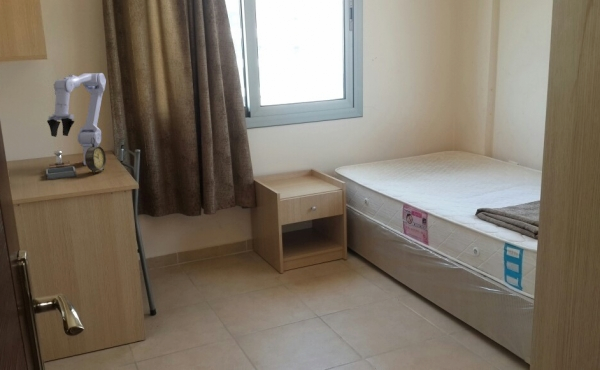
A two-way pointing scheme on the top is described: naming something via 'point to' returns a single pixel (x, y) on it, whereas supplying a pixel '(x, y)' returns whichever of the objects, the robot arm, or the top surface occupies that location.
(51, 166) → the block
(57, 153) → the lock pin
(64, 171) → the tray
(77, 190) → the top surface
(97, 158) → the alarm clock
